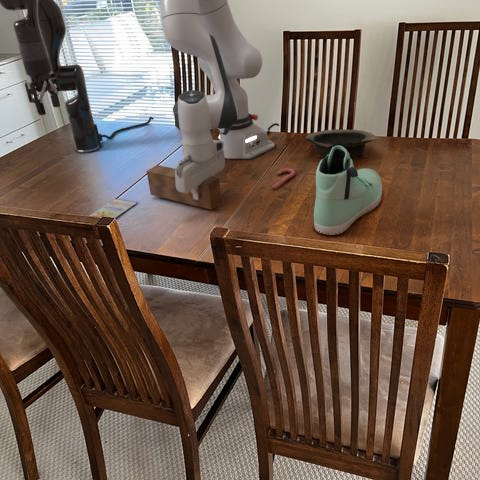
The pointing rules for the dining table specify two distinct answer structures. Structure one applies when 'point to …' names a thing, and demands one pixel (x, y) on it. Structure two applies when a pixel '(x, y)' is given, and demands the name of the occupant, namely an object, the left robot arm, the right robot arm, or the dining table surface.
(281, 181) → the candy cane
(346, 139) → the stone bowl
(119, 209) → the baking ingredient package
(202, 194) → the bar
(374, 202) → the sneaker
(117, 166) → the dining table surface
